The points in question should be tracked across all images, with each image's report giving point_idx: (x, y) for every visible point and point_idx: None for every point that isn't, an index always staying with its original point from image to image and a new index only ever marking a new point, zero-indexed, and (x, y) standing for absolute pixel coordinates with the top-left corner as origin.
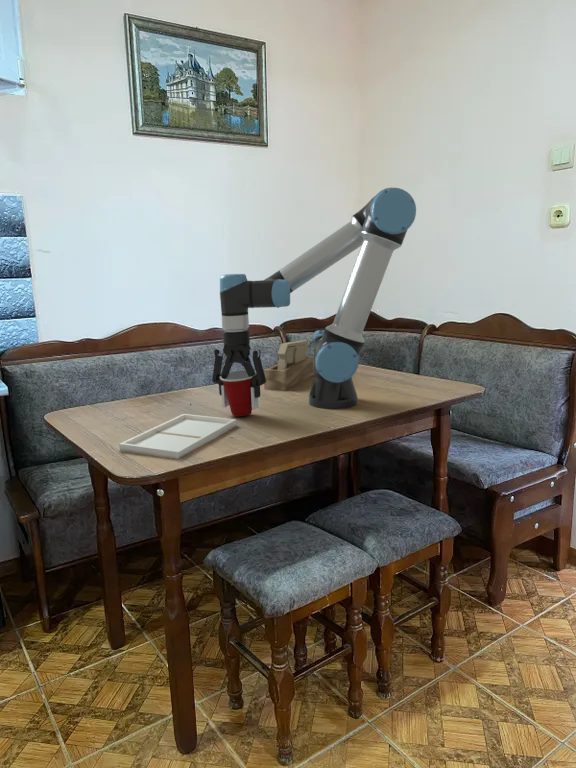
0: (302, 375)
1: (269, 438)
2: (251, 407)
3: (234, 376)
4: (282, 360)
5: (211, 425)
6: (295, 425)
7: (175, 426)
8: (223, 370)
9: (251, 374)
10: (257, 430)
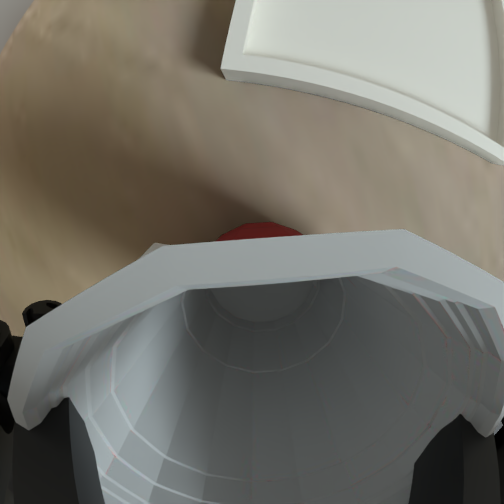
0: None
1: (57, 13)
2: (193, 290)
3: (349, 496)
4: None
5: (351, 32)
6: (11, 190)
7: (481, 39)
8: (490, 492)
9: (15, 444)
10: (110, 68)
